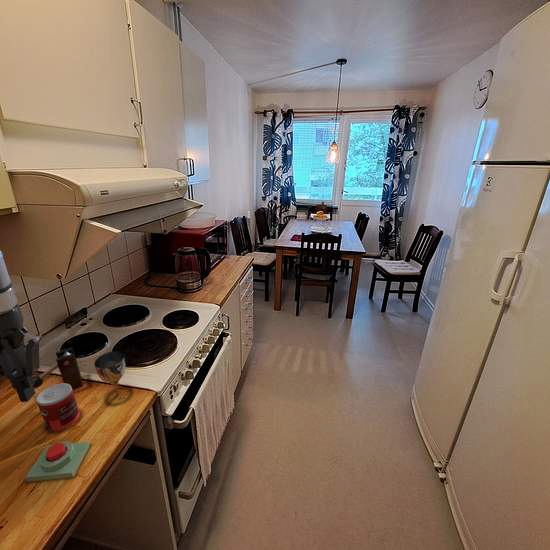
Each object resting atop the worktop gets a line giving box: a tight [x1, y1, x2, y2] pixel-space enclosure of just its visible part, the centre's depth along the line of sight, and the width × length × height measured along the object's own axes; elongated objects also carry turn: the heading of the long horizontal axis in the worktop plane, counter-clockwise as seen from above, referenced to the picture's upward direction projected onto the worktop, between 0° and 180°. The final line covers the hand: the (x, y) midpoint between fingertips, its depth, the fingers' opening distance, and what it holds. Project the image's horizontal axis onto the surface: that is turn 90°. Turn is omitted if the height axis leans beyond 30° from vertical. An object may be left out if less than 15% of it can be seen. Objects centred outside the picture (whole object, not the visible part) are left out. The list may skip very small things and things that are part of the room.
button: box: [46, 442, 66, 462], centre depth 69 cm, size 4×4×2 cm
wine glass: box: [93, 350, 127, 396], centre depth 88 cm, size 8×8×15 cm
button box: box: [25, 440, 90, 483], centre depth 70 cm, size 10×8×4 cm
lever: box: [32, 352, 70, 389], centre depth 89 cm, size 13×4×4 cm
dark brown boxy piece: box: [55, 347, 84, 391], centre depth 92 cm, size 8×7×14 cm
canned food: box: [36, 382, 81, 431], centre depth 80 cm, size 8×8×11 cm
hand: (28, 397), depth 67 cm, fingers closed
